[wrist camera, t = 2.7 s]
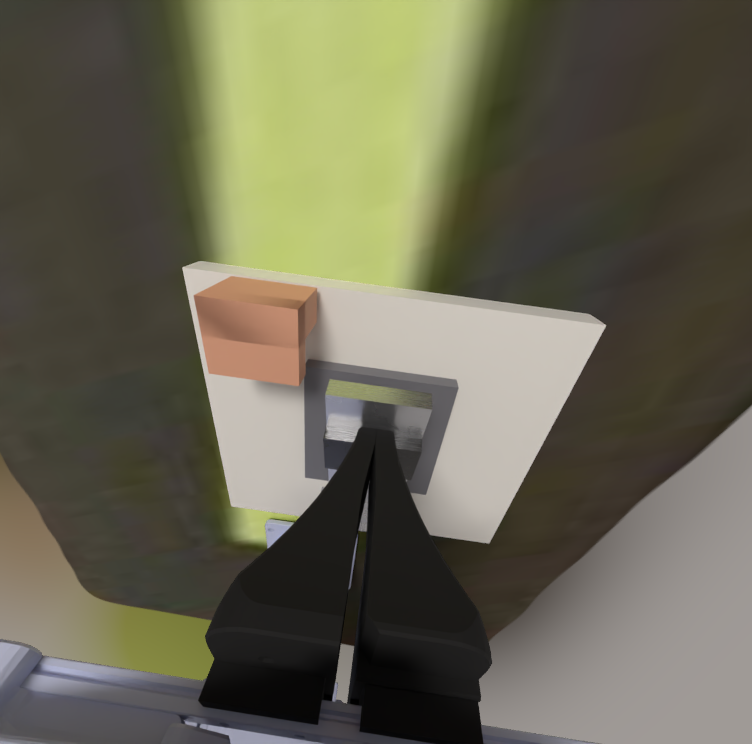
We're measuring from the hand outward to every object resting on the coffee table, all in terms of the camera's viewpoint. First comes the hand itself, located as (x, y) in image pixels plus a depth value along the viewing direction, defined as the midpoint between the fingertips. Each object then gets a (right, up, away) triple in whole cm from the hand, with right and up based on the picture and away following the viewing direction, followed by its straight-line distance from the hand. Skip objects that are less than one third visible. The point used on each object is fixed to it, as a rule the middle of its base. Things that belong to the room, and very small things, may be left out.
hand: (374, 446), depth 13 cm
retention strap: (0, -2, +5) cm, 5 cm away
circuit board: (0, 0, +8) cm, 8 cm away
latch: (-5, +6, +3) cm, 8 cm away
